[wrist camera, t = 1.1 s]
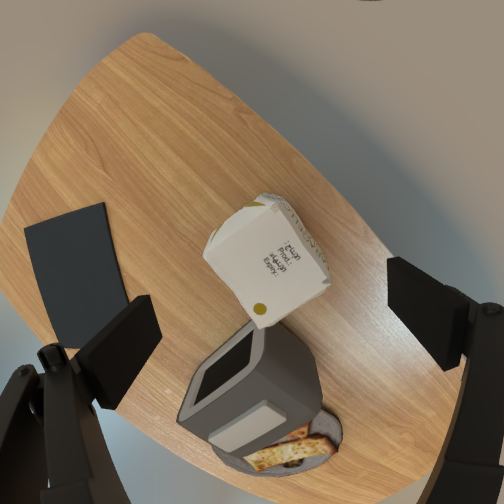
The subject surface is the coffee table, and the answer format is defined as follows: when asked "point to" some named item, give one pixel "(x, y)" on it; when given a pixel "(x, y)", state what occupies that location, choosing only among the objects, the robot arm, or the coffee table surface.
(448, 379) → the coffee table surface
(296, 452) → the food plate
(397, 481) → the coffee table surface
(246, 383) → the alarm clock
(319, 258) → the juice carton
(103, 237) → the drinks mat
